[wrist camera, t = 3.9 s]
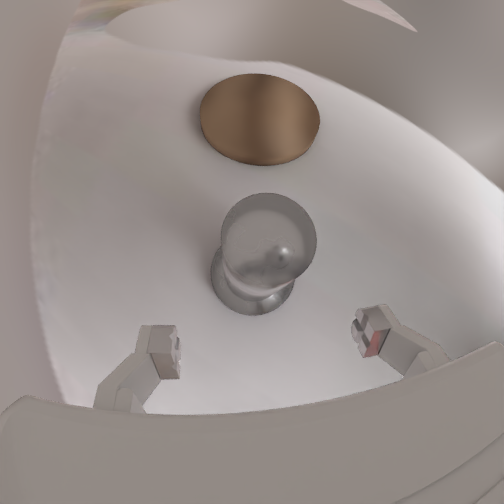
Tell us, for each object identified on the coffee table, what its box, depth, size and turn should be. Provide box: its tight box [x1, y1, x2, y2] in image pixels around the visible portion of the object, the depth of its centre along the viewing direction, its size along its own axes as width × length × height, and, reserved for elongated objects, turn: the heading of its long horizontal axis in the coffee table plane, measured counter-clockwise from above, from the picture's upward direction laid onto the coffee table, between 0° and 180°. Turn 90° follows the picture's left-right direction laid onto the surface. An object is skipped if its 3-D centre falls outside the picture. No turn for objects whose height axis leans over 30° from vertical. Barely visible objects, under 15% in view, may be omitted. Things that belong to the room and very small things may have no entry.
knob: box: [211, 193, 317, 316], centre depth 17 cm, size 6×6×10 cm
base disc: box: [200, 74, 320, 166], centre depth 26 cm, size 12×12×2 cm
